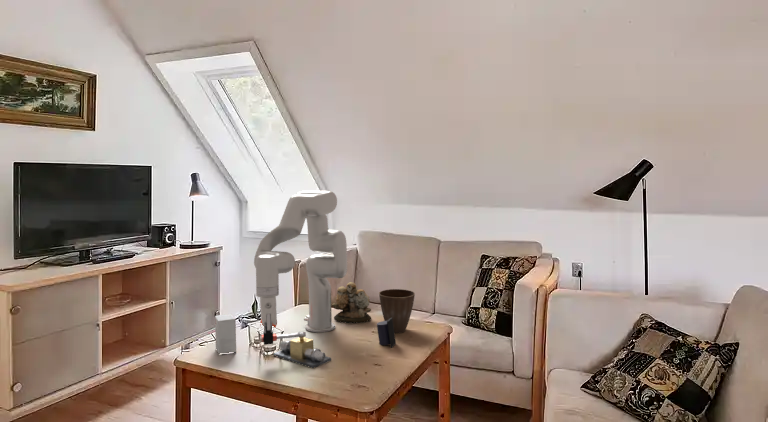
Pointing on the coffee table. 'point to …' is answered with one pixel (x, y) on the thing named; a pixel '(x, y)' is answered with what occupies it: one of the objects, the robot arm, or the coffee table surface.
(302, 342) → the valve body
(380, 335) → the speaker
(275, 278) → the robot arm
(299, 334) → the valve lever
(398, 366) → the coffee table surface
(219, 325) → the small box
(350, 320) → the owl figurine
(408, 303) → the plant pot
